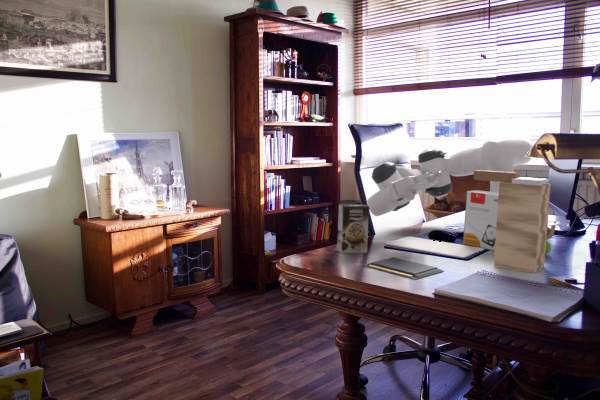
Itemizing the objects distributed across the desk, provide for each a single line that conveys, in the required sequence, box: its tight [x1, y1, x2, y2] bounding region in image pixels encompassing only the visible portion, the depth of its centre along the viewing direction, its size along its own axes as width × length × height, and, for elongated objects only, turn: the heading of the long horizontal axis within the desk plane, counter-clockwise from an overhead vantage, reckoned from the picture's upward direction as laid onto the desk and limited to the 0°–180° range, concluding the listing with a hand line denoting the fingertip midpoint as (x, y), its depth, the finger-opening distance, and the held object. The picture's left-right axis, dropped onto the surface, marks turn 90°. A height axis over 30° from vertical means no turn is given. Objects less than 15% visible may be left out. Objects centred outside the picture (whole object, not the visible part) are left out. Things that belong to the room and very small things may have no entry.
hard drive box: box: [462, 189, 499, 252], centre depth 189 cm, size 16×8×20 cm, turn 41°
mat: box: [384, 235, 485, 259], centre depth 188 cm, size 18×30×1 cm, turn 50°
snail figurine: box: [545, 221, 557, 256], centre depth 178 cm, size 5×6×12 cm
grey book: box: [362, 256, 444, 281], centre depth 157 cm, size 20×2×15 cm
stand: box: [493, 182, 552, 274], centre depth 161 cm, size 10×12×26 cm
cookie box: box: [336, 203, 370, 255], centre depth 178 cm, size 9×6×16 cm
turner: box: [473, 170, 550, 186], centre depth 162 cm, size 9×21×3 cm, turn 50°
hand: (434, 173), depth 181 cm, fingers open, 8 cm apart
